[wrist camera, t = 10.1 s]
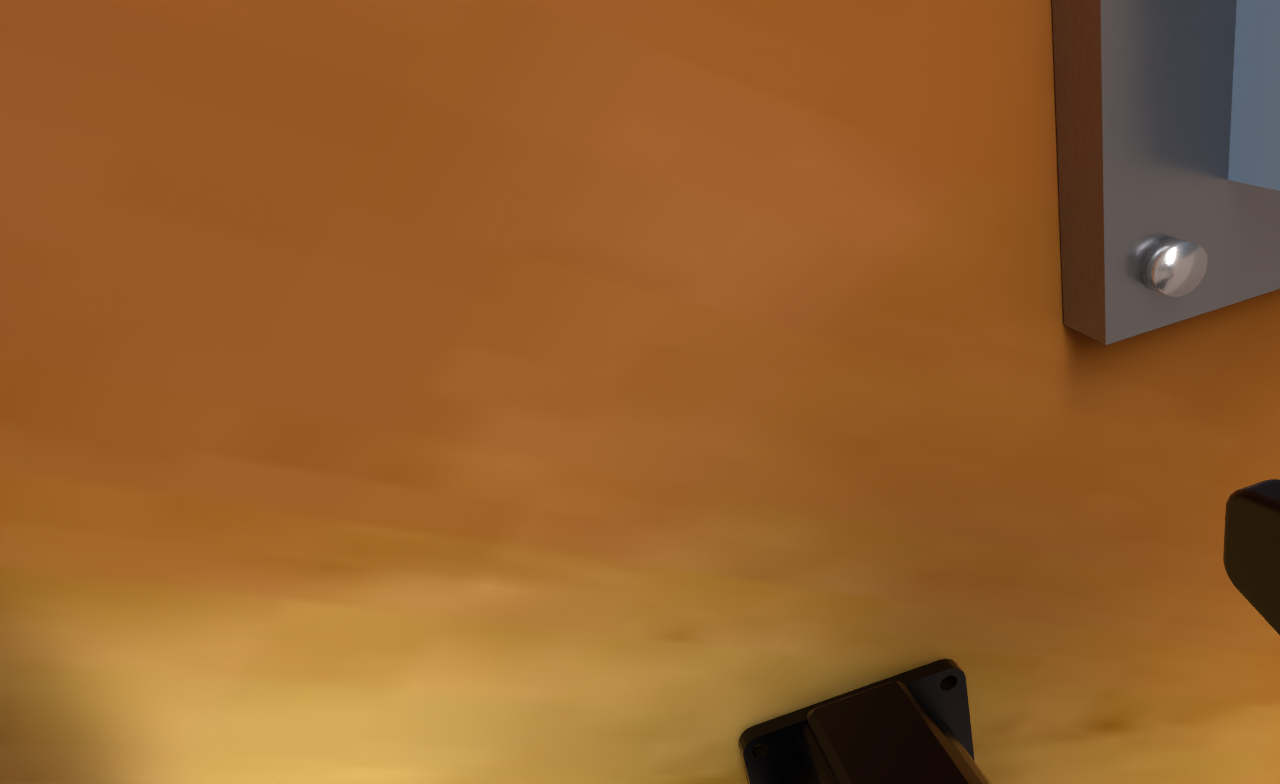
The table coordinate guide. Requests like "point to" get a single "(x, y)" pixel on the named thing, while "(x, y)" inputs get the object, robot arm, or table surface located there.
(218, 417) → the table surface
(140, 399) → the table surface
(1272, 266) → the keeper plate
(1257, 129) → the blue square ring
